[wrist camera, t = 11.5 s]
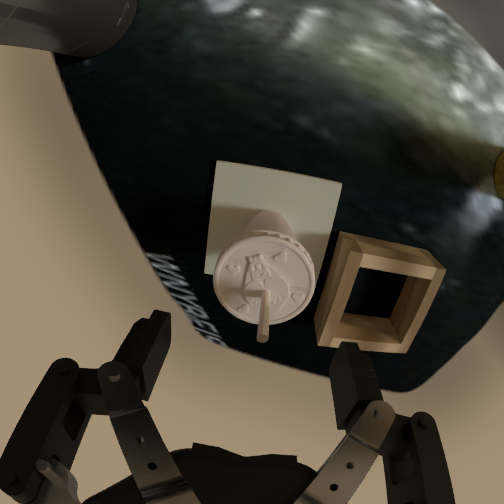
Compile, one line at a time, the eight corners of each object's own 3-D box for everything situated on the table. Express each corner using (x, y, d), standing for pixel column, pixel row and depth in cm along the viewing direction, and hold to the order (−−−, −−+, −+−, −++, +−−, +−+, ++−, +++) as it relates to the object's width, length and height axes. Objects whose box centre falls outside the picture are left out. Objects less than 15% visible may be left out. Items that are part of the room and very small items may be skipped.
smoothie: (246, 269, 29) (221, 380, 16) (223, 206, 26) (173, 288, 14) (311, 252, 27) (333, 361, 15) (294, 187, 25) (310, 256, 12)
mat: (205, 270, 30) (204, 273, 29) (218, 160, 25) (216, 161, 25) (313, 289, 30) (313, 292, 29) (340, 182, 25) (342, 183, 24)
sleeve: (313, 317, 31) (317, 345, 27) (339, 231, 27) (350, 250, 23) (394, 327, 31) (405, 353, 27) (426, 250, 27) (446, 270, 23)
